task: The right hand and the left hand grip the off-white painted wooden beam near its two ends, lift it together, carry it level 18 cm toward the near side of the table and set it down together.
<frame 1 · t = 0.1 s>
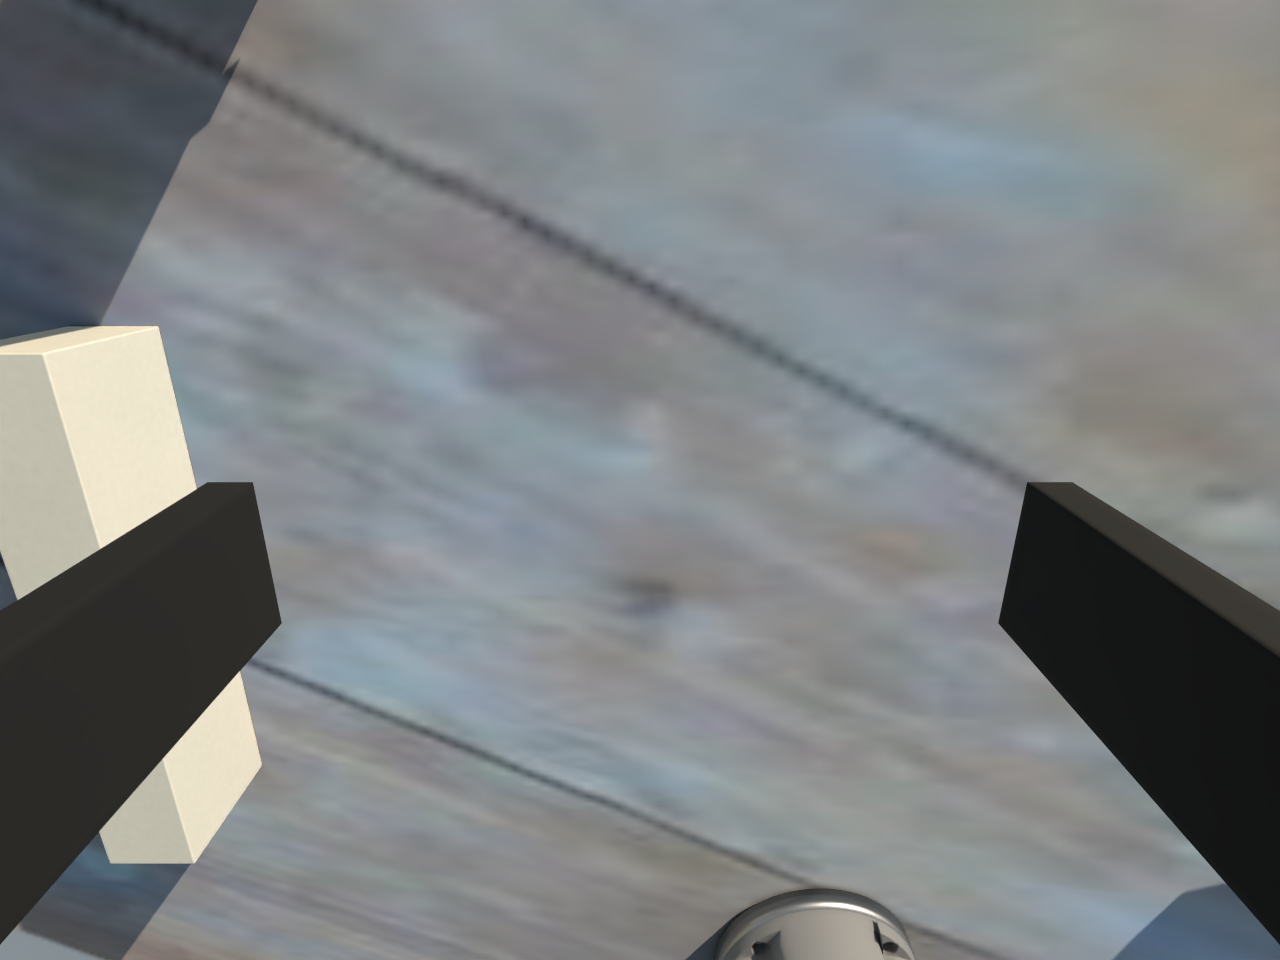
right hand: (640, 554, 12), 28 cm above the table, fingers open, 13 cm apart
beam: (176, 572, 44), on the table
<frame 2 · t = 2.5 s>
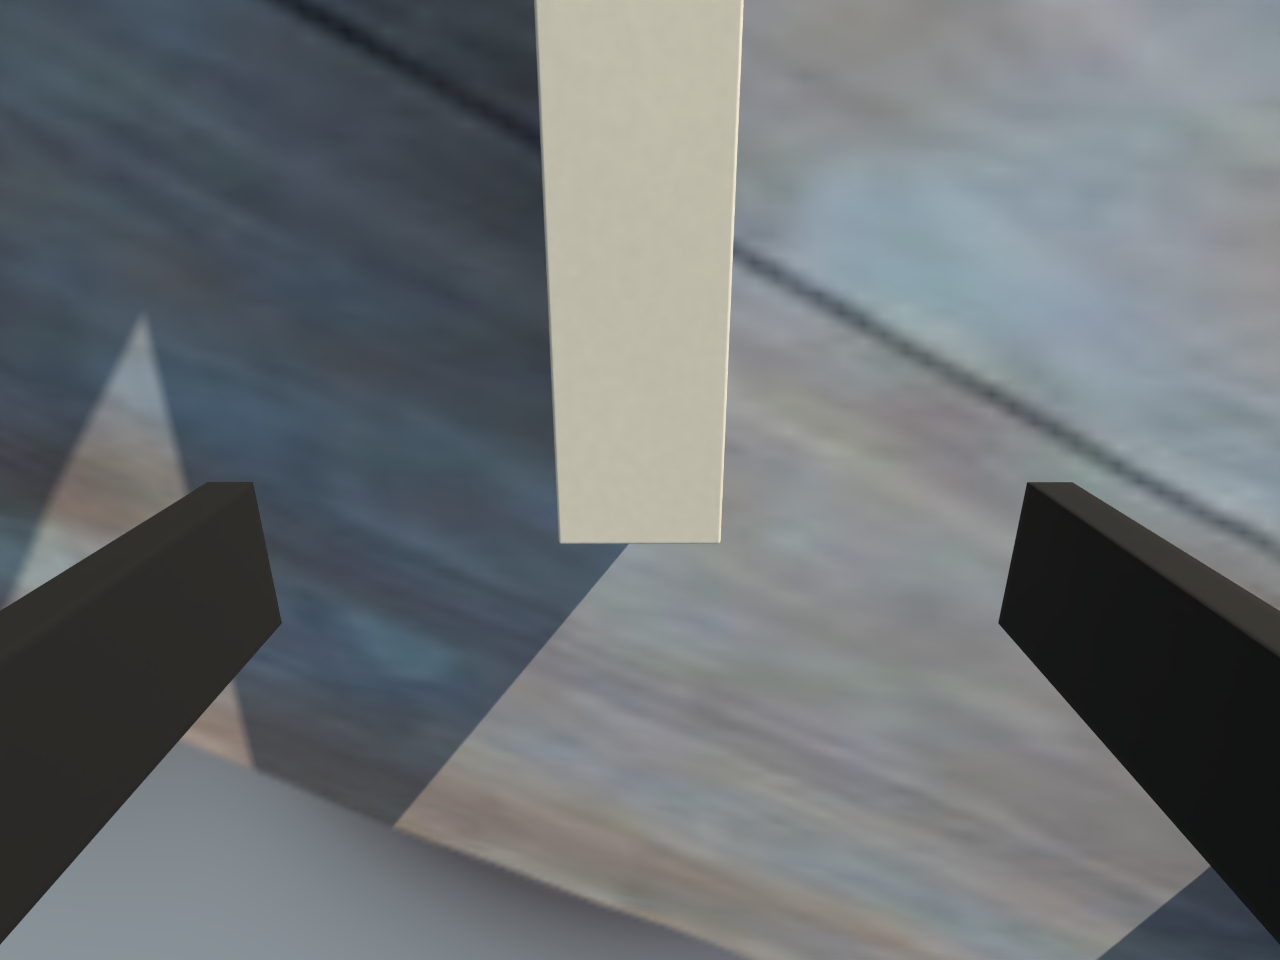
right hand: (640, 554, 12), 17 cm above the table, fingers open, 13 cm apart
beam: (639, 43, 24), on the table
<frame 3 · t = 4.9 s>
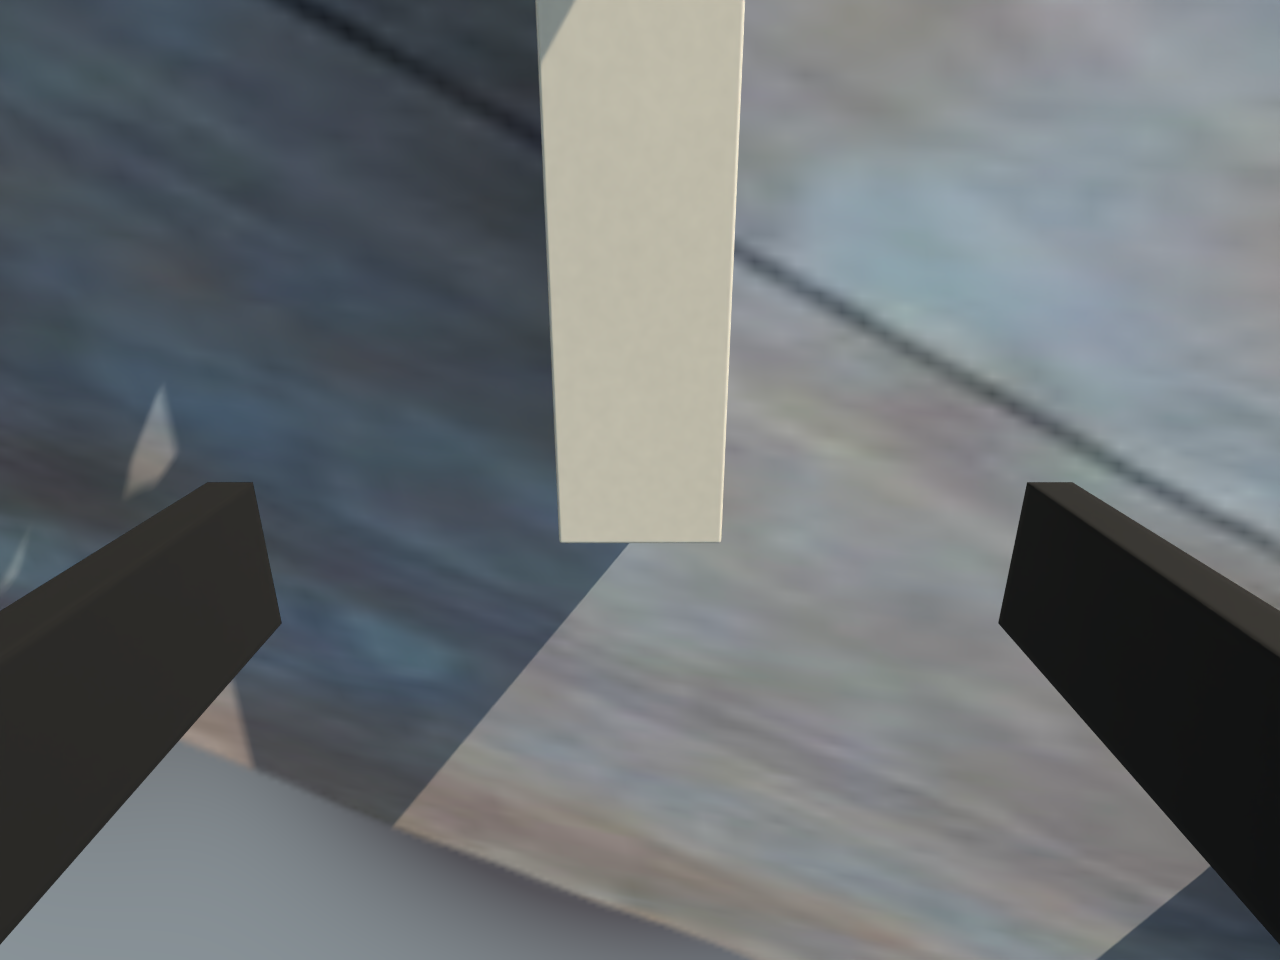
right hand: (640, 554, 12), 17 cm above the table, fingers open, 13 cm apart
beam: (640, 41, 24), on the table, touching left hand
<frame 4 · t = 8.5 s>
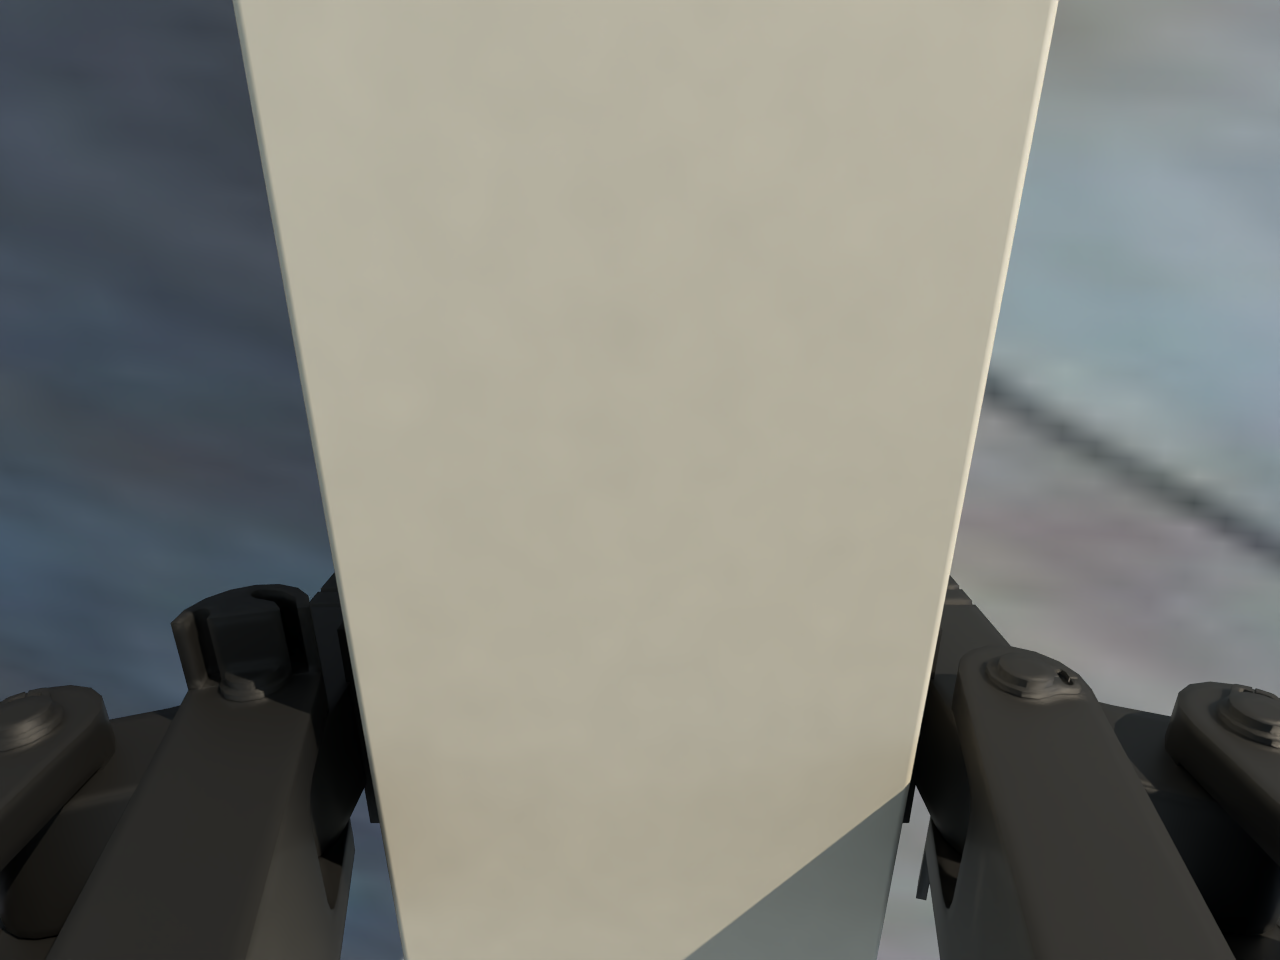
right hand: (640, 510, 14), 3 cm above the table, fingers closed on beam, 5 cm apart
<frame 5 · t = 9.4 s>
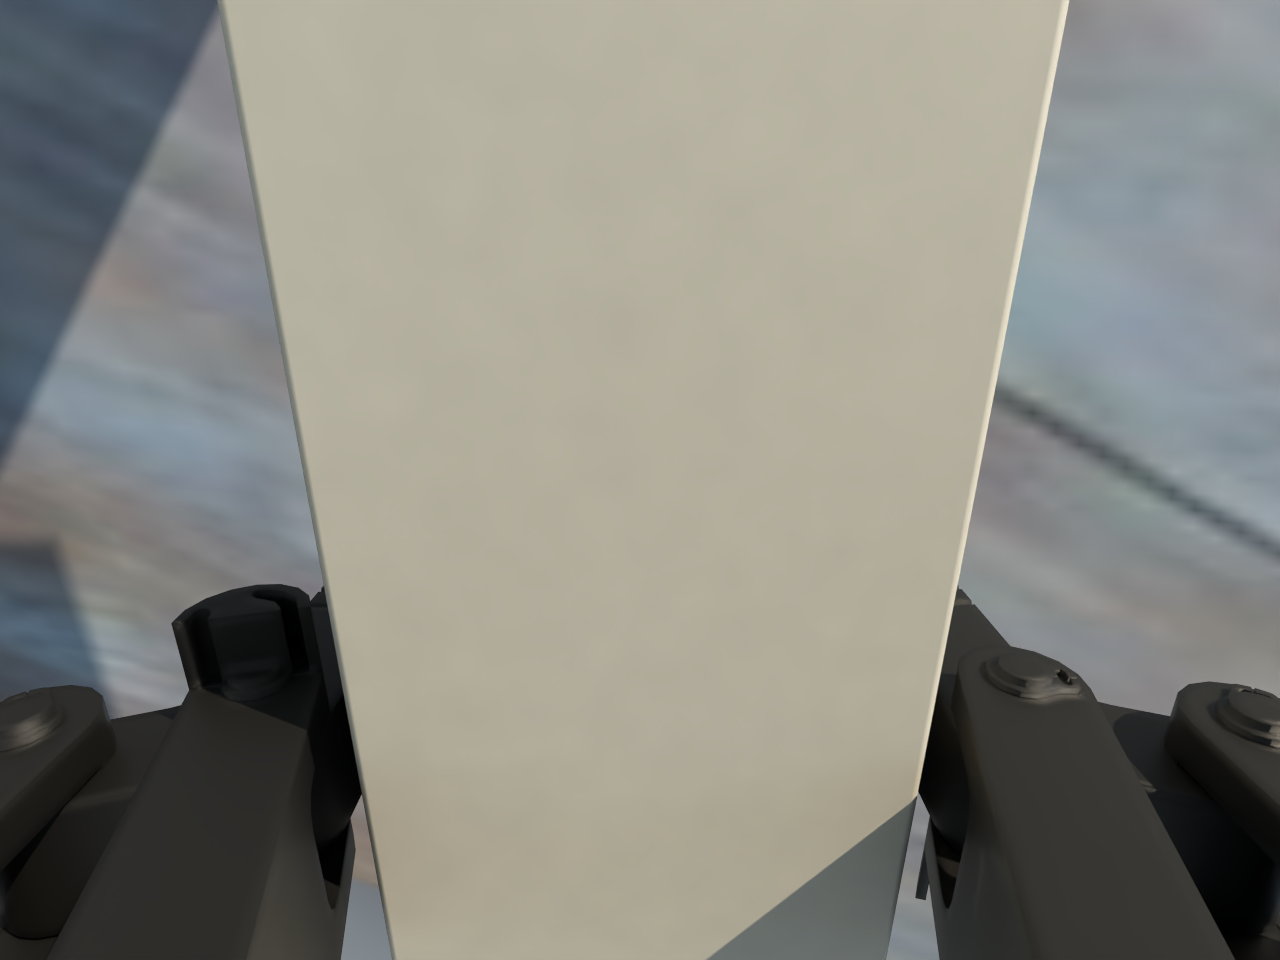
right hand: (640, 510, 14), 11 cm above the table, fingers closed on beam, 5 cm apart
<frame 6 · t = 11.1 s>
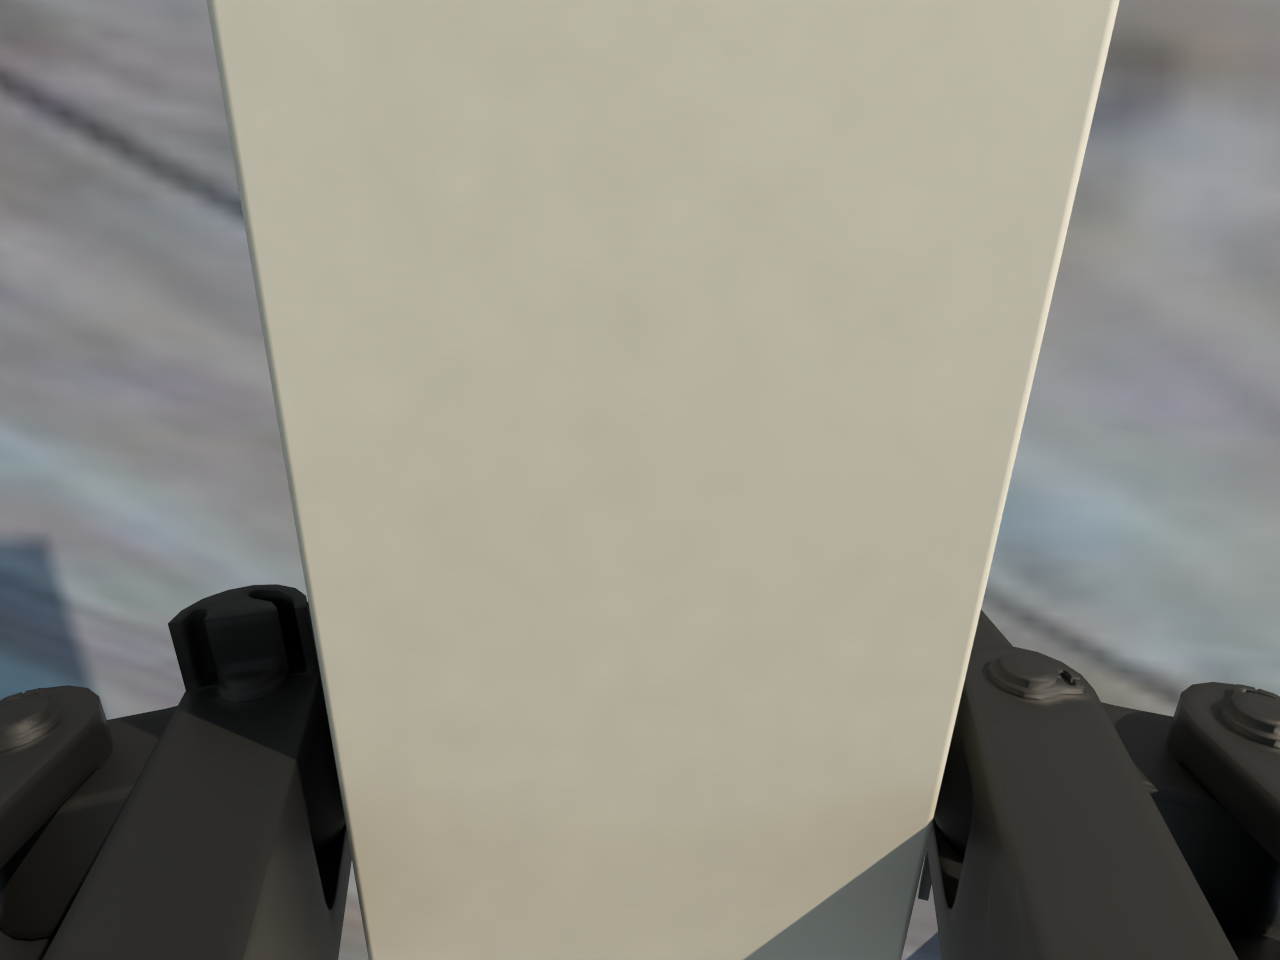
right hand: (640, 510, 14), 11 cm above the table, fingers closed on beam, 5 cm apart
when the right hand's fingers open (0 cm above the table, at t = 14.0 s): beam stays where it is, on the table.
when the left hand's fingers open (4 cm above the table, at t = 14.2 s): beam stays where it is, on the table.
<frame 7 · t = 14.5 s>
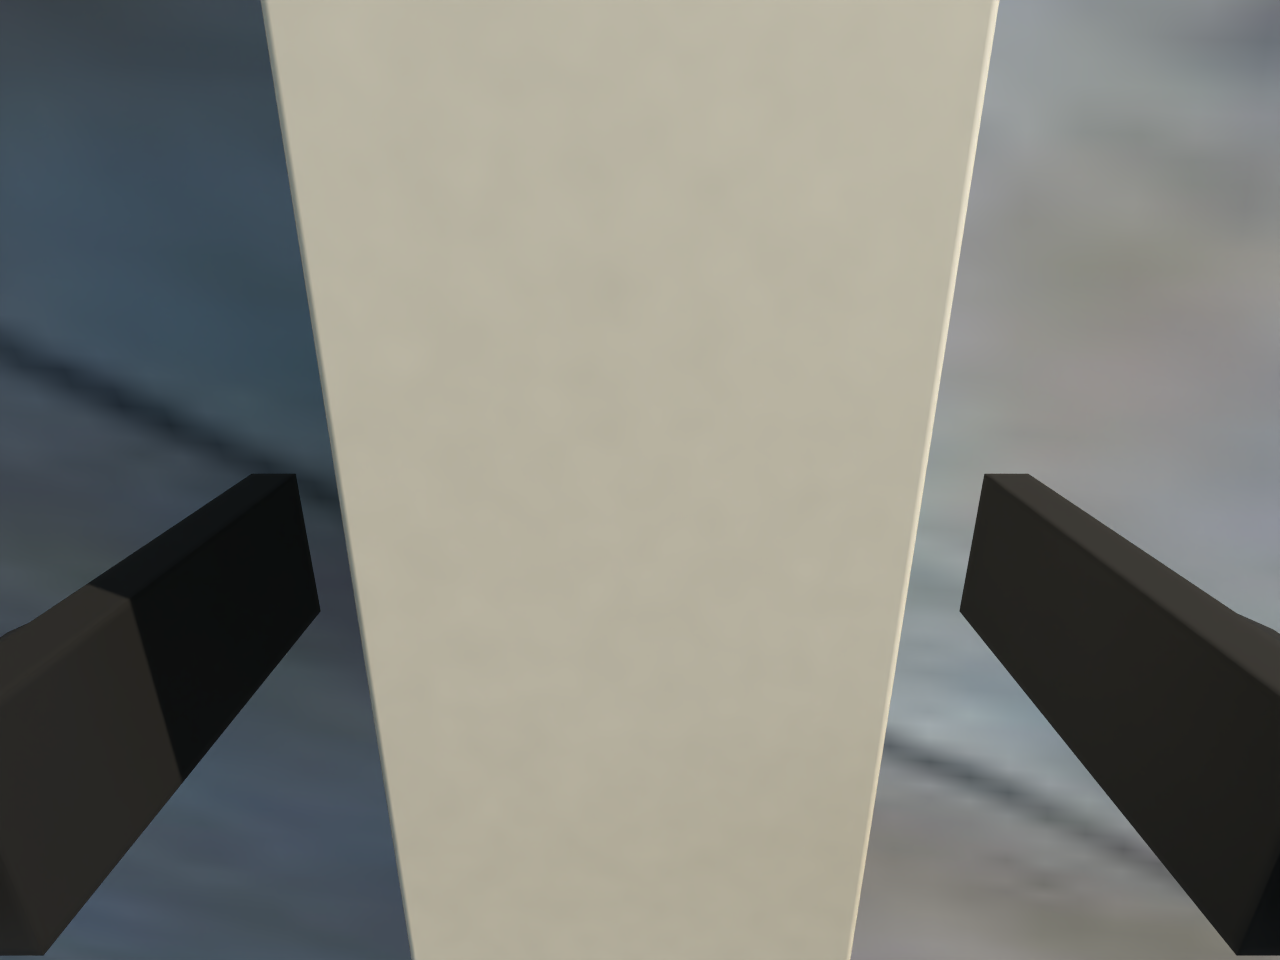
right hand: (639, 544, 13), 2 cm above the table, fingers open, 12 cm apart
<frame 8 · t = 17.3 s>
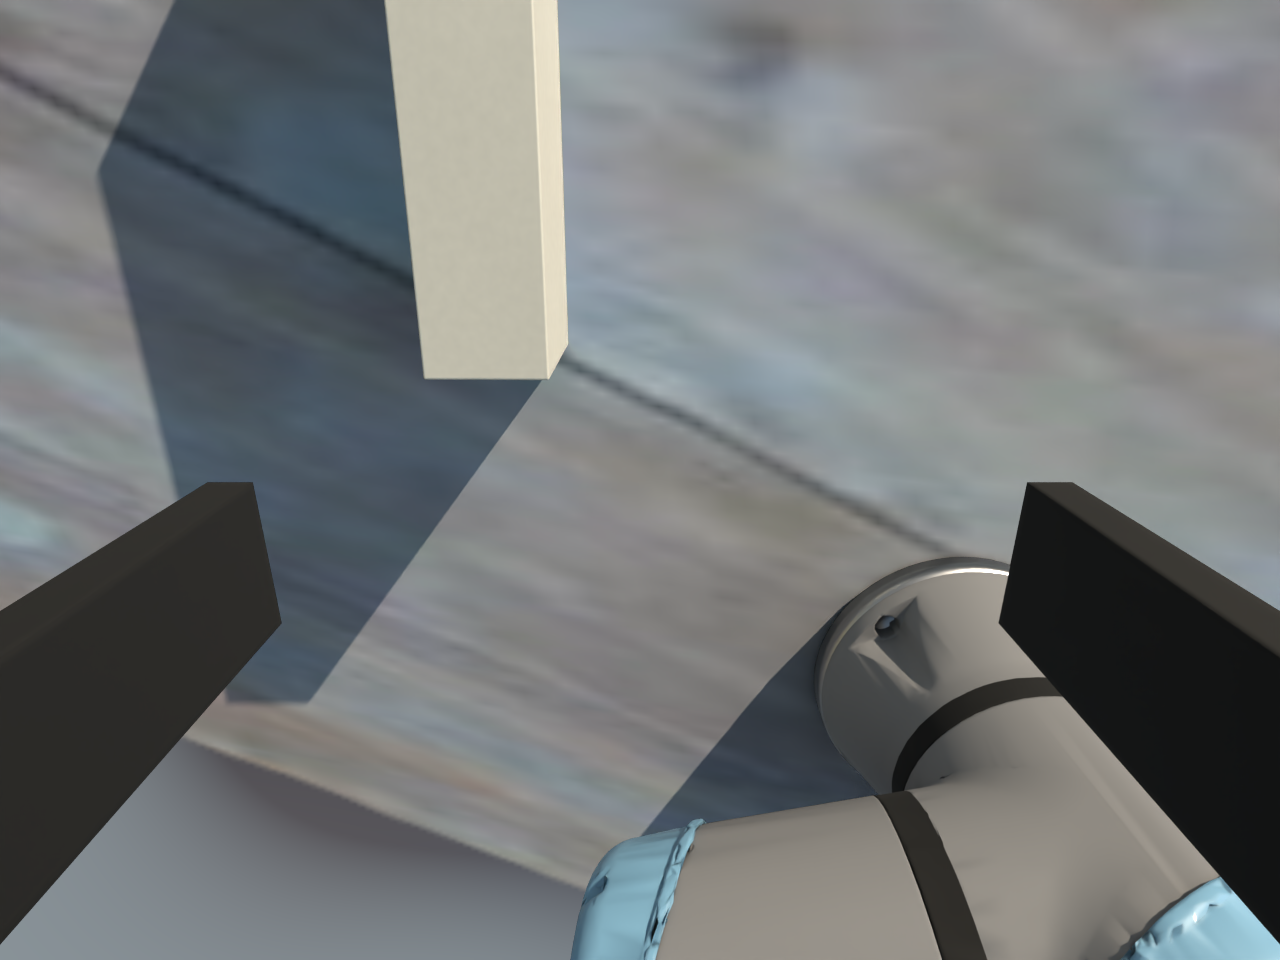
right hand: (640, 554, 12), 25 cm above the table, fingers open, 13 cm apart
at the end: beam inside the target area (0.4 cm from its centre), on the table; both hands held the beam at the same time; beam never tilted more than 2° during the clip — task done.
